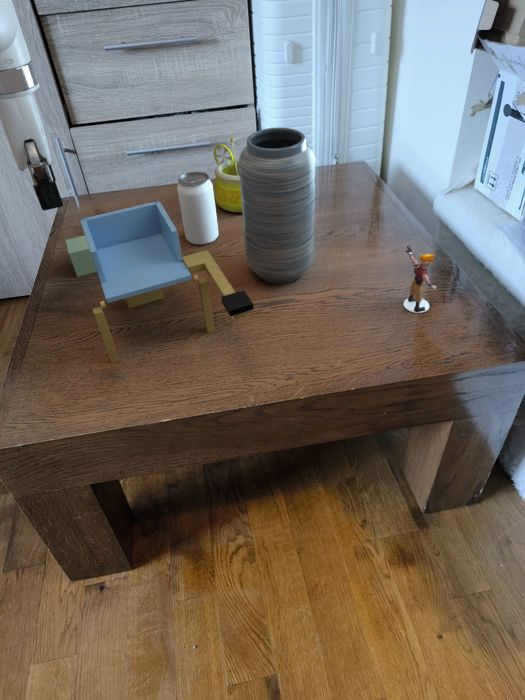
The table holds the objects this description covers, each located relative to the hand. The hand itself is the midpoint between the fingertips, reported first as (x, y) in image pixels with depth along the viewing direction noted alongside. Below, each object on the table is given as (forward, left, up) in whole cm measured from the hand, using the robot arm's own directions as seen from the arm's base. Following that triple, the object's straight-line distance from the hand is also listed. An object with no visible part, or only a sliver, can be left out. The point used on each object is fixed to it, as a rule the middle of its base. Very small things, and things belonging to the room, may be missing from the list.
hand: (49, 194), depth 83 cm
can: (+24, +1, -16) cm, 29 cm away
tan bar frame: (+9, -19, -15) cm, 26 cm away
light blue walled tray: (+12, -24, -5) cm, 28 cm away
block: (+2, +1, -15) cm, 16 cm away
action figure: (+48, -34, -16) cm, 61 cm away
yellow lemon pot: (+36, +11, -16) cm, 41 cm away
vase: (+33, -16, -16) cm, 40 cm away
